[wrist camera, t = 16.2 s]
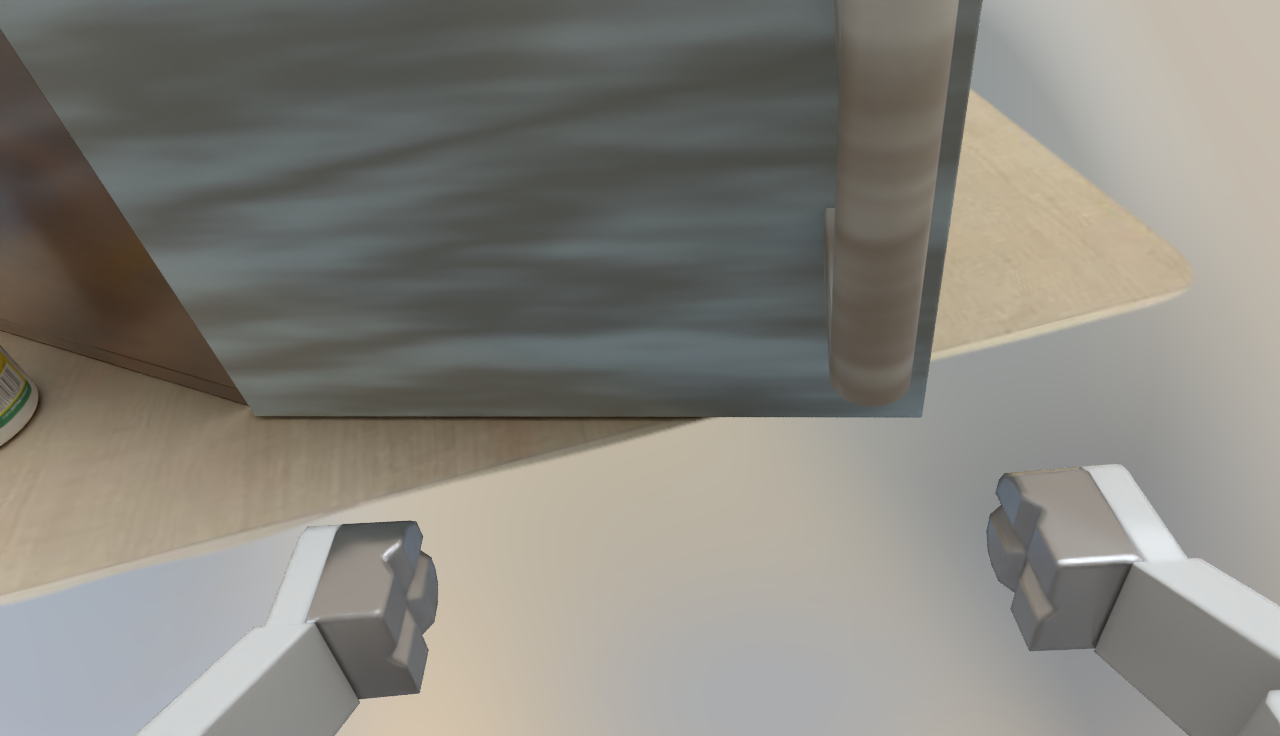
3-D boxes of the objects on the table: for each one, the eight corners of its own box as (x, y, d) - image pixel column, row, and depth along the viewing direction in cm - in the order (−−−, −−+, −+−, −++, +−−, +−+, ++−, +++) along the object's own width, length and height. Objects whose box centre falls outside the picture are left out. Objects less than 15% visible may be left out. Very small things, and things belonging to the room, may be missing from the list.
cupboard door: (945, 565, 25) (1217, -714, 9) (178, 540, 29) (-578, -314, 13) (918, 397, 30) (1058, -612, 14) (266, 398, 34) (-207, -347, 18)
